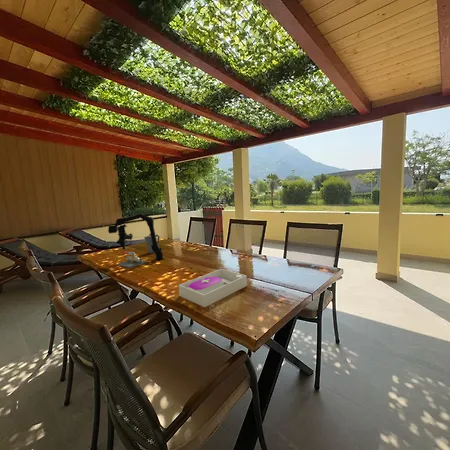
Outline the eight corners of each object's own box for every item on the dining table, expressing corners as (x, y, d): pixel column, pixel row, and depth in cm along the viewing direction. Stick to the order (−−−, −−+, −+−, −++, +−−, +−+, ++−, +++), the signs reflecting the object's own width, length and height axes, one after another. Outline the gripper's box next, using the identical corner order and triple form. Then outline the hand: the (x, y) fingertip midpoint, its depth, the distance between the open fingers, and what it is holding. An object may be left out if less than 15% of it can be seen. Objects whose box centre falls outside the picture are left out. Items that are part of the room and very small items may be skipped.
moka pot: (144, 252, 249) (142, 233, 246) (159, 250, 255) (158, 232, 252) (146, 254, 240) (144, 235, 237) (161, 252, 247) (159, 233, 244)
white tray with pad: (247, 286, 149) (246, 275, 148) (204, 308, 124) (203, 294, 123) (221, 278, 164) (220, 268, 163) (179, 296, 140) (178, 284, 138)
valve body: (142, 262, 208) (141, 255, 207) (137, 264, 204) (136, 256, 203) (130, 259, 219) (130, 252, 218) (125, 261, 215) (124, 254, 214)
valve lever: (135, 254, 211) (134, 252, 210) (132, 255, 209) (132, 252, 208) (126, 252, 218) (126, 250, 218) (124, 253, 216) (124, 251, 216)
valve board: (146, 262, 211) (145, 261, 211) (129, 268, 198) (129, 266, 198) (134, 260, 222) (134, 258, 221) (118, 265, 209) (117, 263, 209)
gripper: (128, 233, 203) (131, 250, 206) (133, 229, 222) (135, 246, 224) (115, 234, 202) (117, 252, 204) (120, 230, 220) (123, 247, 222)
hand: (124, 249), depth 213 cm, fingers closed
